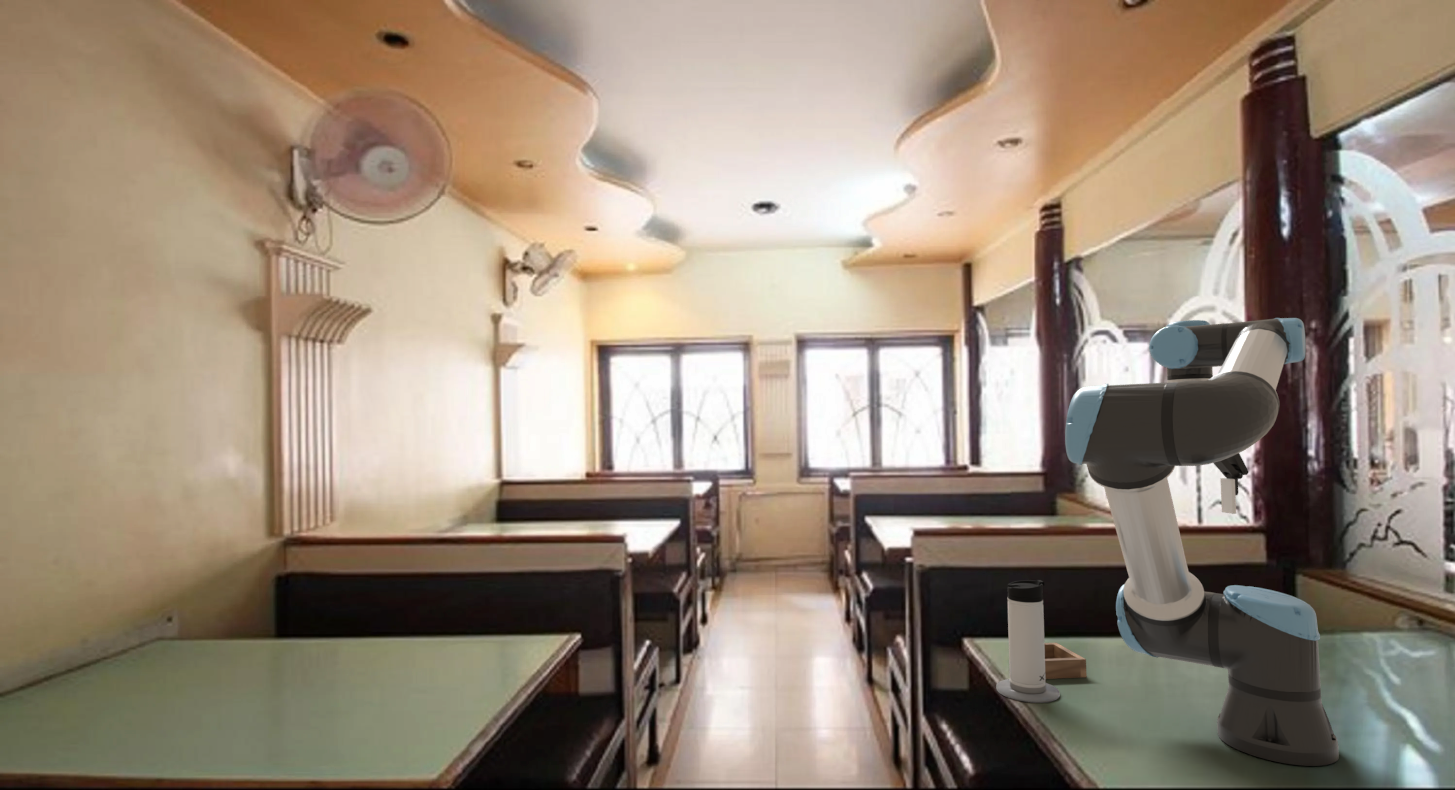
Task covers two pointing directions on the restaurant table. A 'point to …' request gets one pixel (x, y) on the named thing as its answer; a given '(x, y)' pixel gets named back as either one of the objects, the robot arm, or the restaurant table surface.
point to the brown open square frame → (1063, 662)
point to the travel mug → (1026, 636)
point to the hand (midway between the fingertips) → (1195, 513)
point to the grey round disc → (1047, 696)
